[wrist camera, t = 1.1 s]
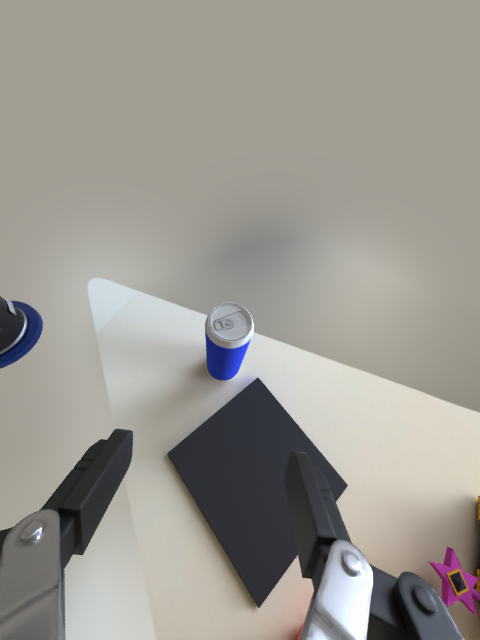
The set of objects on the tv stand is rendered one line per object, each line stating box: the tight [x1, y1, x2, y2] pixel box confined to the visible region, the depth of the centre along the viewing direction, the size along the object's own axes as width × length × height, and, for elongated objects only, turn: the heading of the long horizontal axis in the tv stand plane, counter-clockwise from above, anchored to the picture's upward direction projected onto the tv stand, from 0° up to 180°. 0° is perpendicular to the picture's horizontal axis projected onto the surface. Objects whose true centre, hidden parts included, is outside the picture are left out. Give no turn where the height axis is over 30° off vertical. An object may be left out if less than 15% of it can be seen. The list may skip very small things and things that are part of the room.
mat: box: [168, 378, 348, 608], centre depth 29 cm, size 16×18×1 cm
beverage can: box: [205, 302, 254, 380], centre depth 29 cm, size 5×5×15 cm
